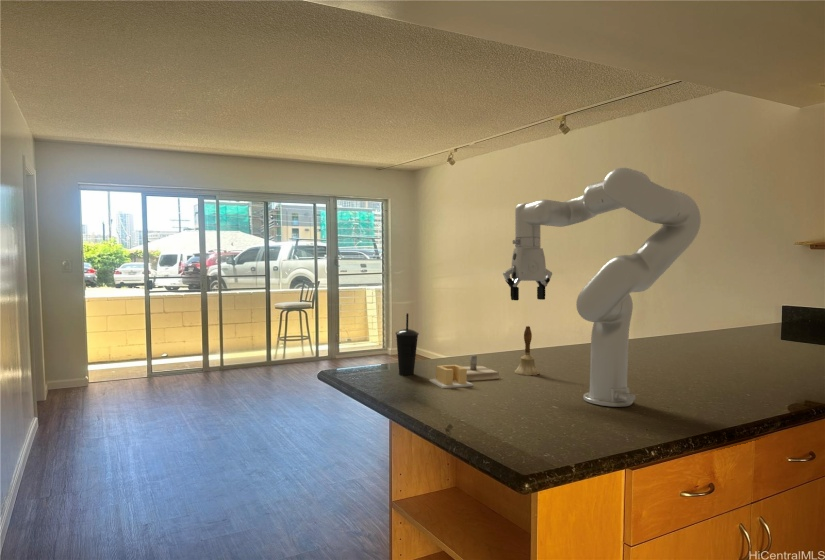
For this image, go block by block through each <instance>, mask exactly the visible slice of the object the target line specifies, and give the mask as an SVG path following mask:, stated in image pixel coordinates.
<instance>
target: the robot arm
mask: <svg viewBox="0 0 825 560" xmlns="http://www.w3.org/2000/svg"><path fill="white" fill-rule="evenodd" d="M622 208H624V209H625V210H628V211H630V212H631V213H633V214H635V215H636V216H638V217H640V218H642V219H644V220H646V221H649V222H650V223H654V224H659V225H661V226H660V228H659V229H658V230H657V231H655V232H654V233H652V235H651V236H649V237H648V238H647V239H646V240H645V241H644V242H643V243H642V245H641V246H640V247H639V248H637V250H636V251H635V252H633V253H632V254H623V255H618V256H615V257H613V258H611V259H610V260H608V261H607V262H606V263H605V264H604V265H603V266H601V268H600V269H599V270H598V271H597V272H596V273H595V274H594V276H592V278H591V279H590V280H589V281H588V282H587V283H586V285H585V286H584V287H583V288H582V289H581V291H580V292H579V294H578V296H577V299H576V310H577V314H578V315H579V316H580V317H581V318H582V319H583V320H585V321H586V322H587V321H588V322H590V323H593V326H592V329H591V335H590V336H591V338H590V364H589V366H590V367H589V392H588V391H587V392H585V393H583V394H582V395H583V400H584V401H585V402H587V403H589V404H592V405H598V406H601V407H603V406H604V407H614V408H615V407H616V408H617V407H620V408H621V407H622V408H623V407H629V406H631V405H632V404H633V402H634V401H635V400H636V395H635V394H632V393H630V387H628V360H629V339H630V338H629V336H630V326H631V320H632V313H633V308H634V306H633V305H634V304H633V299H632V296H631V293H641V292H645V291H646V290H648V289H650V287H652V286H653V285H654V283H656V282H657V280H658V279H659V278H660V277H661V276H662V275H663V274H664V273H665V272H666V271H667V270H668V269H669V268H670V267H671V266H672V265H673V263H675V262H676V261H677V259H678V258H679V257H680V256H681V255H683V253H684V252H685V251H686V250H687V249H688V248H689V247H690V246H691V245H692V243H693V242H694V241H695V239H696V238H697V235H698V233H699V230H700V227H701V224H702V223H701V222H702V221H701V212H700V209H699V206H698V204H697V203H696V201H695V200H694V199H693V198H692V197H691V196H690V195H688V194H687V193H685V192H682V191H679V190H674V189H670V188H667V187H664V186H662V185H660V184H658V183H655V182H654V181H651V179H650V177H649V176H648V175H647V174H646V173H644V172H642V171H639V170H636V169H632V168H628V167H619V168H615V169H613V170H611V171H610V172H609V173H608V174H607V175H606V176H605V178H604V180H602V181H601V180H600V181H598V182H595V183H591V184H589V185H587V186H586V188H585V189H584V192H583V194H582V195H581V196H579V197H576V198H572V199H570V200H569V199H568V200H567V201H566V200H565V201H560V200H559V201H558V200H552V199H540V200H536V201H534V202H524V203H518V204H516V207H515V212H514V213H515V216H514V218H515V221H514V222H515V224H514V225H515V227H514V228H515V230H514V231H515V238H514V239H513V240H512V244H513V245H515V248H513V252H512V257H511V267H510V268H509V269H507V270H505V271H504V272H503V273H502V275H503V277H504V280H505V282H506V284H508V285H507V286H508V287H509V288H510V300H511V301H519V299H520V295H519V294H520V291H519V290H520V288H519V286H518V285H519V284H520V282H521V281H522V282H524V281H526V282H528V281H529V282H530V281H531V282H533V281H534V282H536V283H537V285H538V286H537V287H536V298H537V300H545V299H546V287H547V286H548V284H549V282H550V281H551V278H552V275H553V272H552V271H550V270H549V269H547V267H546V257H545V252H544V248H541V244H542V243H541V226H545V227H558V228H562V227H563V228H565V227H569V226H573V225H576V224H579V223H583V222H585V221H589V220H590V219H593V218H594V217H597V216H598V215H601V214H604V213H608V212H612V211H614V210H615V211H616V210H619V209H622ZM510 275H511V276H510Z"/></svg>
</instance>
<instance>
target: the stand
mask: <svg viewBox="0 0 825 560" xmlns="http://www.w3.org/2000/svg"><path fill="white" fill-rule="evenodd" d="M477 357H478V356H477V355H475V354H474V355H470V360H469V361H470V363H469V364H470V365H467V366H462V367H463V368H466V369H467V382H470V381H482V380H485V381H486V380H495V379H499V371H496V370H493V369H491V368H488V367H486V366H483V365H477V362H478V361H477V359H478V358H477Z"/></svg>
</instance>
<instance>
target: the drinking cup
mask: <svg viewBox="0 0 825 560" xmlns="http://www.w3.org/2000/svg"><path fill="white" fill-rule="evenodd" d="M405 318H406V319H405V328H402V329H400V330H398V331H396V332H395V335H396V337H395V338H396V348H397V364H398V374H399V375H400V376H413V375H414V374H415V367H416V366H415V365H416V357H417V355H416V354H417V347H418V338H419V337H418V336H419V334H420V333H419V331H418V332H417V331H415V330H413V329H410V328H409V313H406V317H405Z"/></svg>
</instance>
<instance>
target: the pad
mask: <svg viewBox="0 0 825 560" xmlns="http://www.w3.org/2000/svg"><path fill="white" fill-rule="evenodd" d="M428 382H429V383H431V384H434V385H435V386H438V387H439V388H441V389H451V388H464V387H465V388H468V387H473V386H474V384H473V383H472V382H470V381H467V382H466V383H465V384H459V383H457V381H456V380H453V384H451V385H445V384H443V383H441V382H439V381H437V380H436V378H430V379H428Z"/></svg>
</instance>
